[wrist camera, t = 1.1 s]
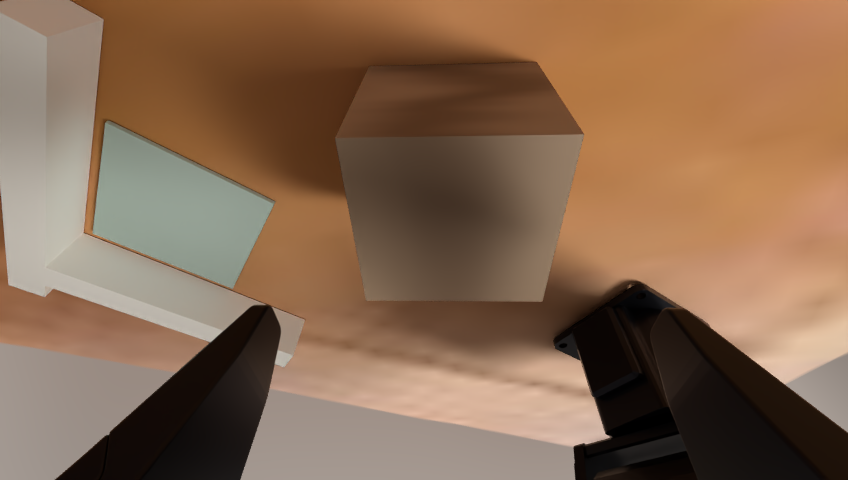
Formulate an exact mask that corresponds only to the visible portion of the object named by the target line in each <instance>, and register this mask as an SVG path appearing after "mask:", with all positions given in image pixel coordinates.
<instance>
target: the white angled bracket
mask: <svg viewBox="0 0 848 480" xmlns="http://www.w3.org/2000/svg"><path fill="white" fill-rule="evenodd" d="M103 21H104V19H102V18H100V17H99V16H97V15H95V14H93V13H92V12H90V11H88V10H86V9H84V8H83V7H81V6H79V5H77V4H76V3H74V2H72V1H70V0H4V1H0V190H1V202H2V213H3V225H4V237H5V249H6V261H7V272H8V284H9V285H10V286H13V287H16V288H19V289H22V290H25V291H28V292H31V293H34V294H37V295H40V296H43V297H45V296H46V295H47V294H48V293H50V292H51V291H52V290H53V289H56V290H59V291H62V292H65V293H68V294H71V295H74V296H77V297H79V298H82V299H85V300H88V301H91V302H94V303H97V304H100V305H103V306H106V307H109V308H112V309H115V310H117V311H120V312H123V313H126V314H129V315H132V316H135V317H138V318H141V319H144V320H147V321H150V322H153V323H156V324H158V325H161V326H164V327H167V328H170V329H173V330H176V331H179V332H182V333H185V334H188V335H191V336H194V337H197V338H199V339H202V340H205V341H208V342H211V341H212V340H214V339H215V338H216V337H217V336H218V335H219V334H220V333H221V332H223V331H224V330H225V329H226V328H227V327H228V326H229V325H230V324H232V323H233V322H234V321H235V320H236V319H237V318H238V317H239V316H240V315H242V314H243V313H244V312H245V311H246V310H247V309H248V308H250V307H251V306H253V305H266V304H264V303H261V302H258V301H256V300H253V299H251V298H248V297H246V296H243V295H241V294H238V293H236V292H233V291H230V290H228V289H225V288H223V287H220V286H218V285H215V284H213V283H210V282H207V281H205V280H202V279H200V278H197V277H195V276H192V275H190V274H187V273H185V272H182V271H179V270H177V269H174V268H172V267H169V266H167V265H164V264H162V263H159V262H156V261H154V260H151V259H149V258H146V257H144V256H141V255H139V254H136V253H134V252H131V251H128V250H126V249H123V248H121V247H118V246H116V245H113V244H111V243H108V242H105V241H103V240H100V239H98V238H95V237H93V236H90V235H88V234H85V233H84V223H85V212H86V202H87V191H88V181H89V170H90V159H91V149H92V138H93V128H94V117H95V106H96V96H97V85H98V74H99V64H100V53H101V43H102V32H103ZM272 308H273V310H274V312H275V314H276V317H277V319H278V321H279V324H280V327H281V337H280V342H279V346H278V351H277V356H276V360H275V364H276V365H279V366H281V367H285V365H286V364H287V363H288V362H289V360H290V359H291V358H292V357H293V355H294V352H295V349H296V346H297V343H298V340H299V337H300V334H301V331H302V328H303V325H304V322H305V320H304V319H302V318H299V317H297V316H294V315H292V314H289V313H287V312H284V311H281V310H279V309H276V308H274V307H272Z"/></svg>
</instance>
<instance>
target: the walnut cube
mask: <svg viewBox="0 0 848 480" xmlns="http://www.w3.org/2000/svg"><path fill="white" fill-rule="evenodd" d="M583 137H584V133H583V132H582V130H581V129H580V127H579V126H578V124H577V123H576V121H575V120H574V118H573V117H572V115H571V114H570V112H569V110H568V109H567V107H566V106H565V104H564V103H563V101H562V100H561V98H560V97H559V95H558V94H557V92H556V91H555V89H554V88H553V86H552V84H551V83H550V81H549V80H548V78H547V77H546V75H545V74H544V72H543V71H542V69H541V68H540V66H539V65H538V63H537V62H520V63H477V64H434V65H391V66H369V68H368V70H367V72H366V74H365V76H364V78H363V80H362V82H361V84H360V86H359V89H358V91H357V93H356V95H355V97H354V99H353V101H352V103H351V105H350V107H349V109H348V112H347V114H346V116H345V118H344V120H343V122H342V124H341V126H340V128H339V130H338V133H337V135H336V137H335V141H336V146H337V152H338V157H339V162H340V167H341V172H342V178H343V183H344V188H345V193H346V198H347V204H348V209H349V214H350V219H351V224H352V230H353V235H354V240H355V245H356V250H357V256H358V261H359V266H360V271H361V277H362V282H363V287H364V292H365V297H366V301H526V302H542V301H543V297H544V293H545V289H546V285H547V281H548V277H549V273H550V269H551V265H552V261H553V257H554V253H555V249H556V245H557V241H558V237H559V233H560V229H561V225H562V221H563V217H564V213H565V209H566V205H567V201H568V197H569V193H570V189H571V185H572V181H573V177H574V173H575V169H576V165H577V161H578V157H579V153H580V149H581V145H582V141H583Z"/></svg>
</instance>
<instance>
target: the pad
mask: <svg viewBox="0 0 848 480" xmlns="http://www.w3.org/2000/svg"><path fill="white" fill-rule="evenodd" d="M274 203H275V201H273V200H271V199H269V198H267V197H265V196H263V195H261V194H259V193H257V192H255V191H253V190H251V189H248V188H246V187H244V186H242V185H240V184H238V183H236V182H234V181H232V180H230V179H228V178H226V177H224V176H222V175H220V174H218V173H216V172H214V171H212V170H209V169H207V168H205V167H203V166H201V165H199V164H197V163H195V162H193V161H191V160H189V159H187V158H185V157H183V156H181V155H179V154H177V153H175V152H173V151H171V150H168V149H166V148H164V147H162V146H160V145H158V144H156V143H154V142H152V141H150V140H148V139H146V138H144V137H142V136H140V135H138V134H136V133H134V132H132V131H129V130H127V129H125V128H123V127H121V126H119V125H117V124H115V123H113V122H111V121H109V120H108V121H107V122H105V130H104V139H103V147H102V156H101V165H100V174H99V182H98V191H97V200H96V208H95V217H94V226H93V234H95V235H98V236H100V237H103V238H105V239H108V240H110V241H113V242H115V243H118V244H120V245H123V246H126V247H128V248H131V249H133V250H136V251H138V252H141V253H143V254H146V255H148V256H151V257H153V258H156V259H159V260H161V261H164V262H166V263H169V264H171V265H174V266H176V267H179V268H181V269H184V270H186V271H189V272H192V273H194V274H197V275H199V276H202V277H204V278H207V279H209V280H212V281H214V282H217V283H219V284H222V285H224V286H227V287H230V288H232V289H233V287H234V285H235V283H236V281H237V279H238V277H239V275H240V273H241V271H242V269H243V267H244V264H245V262H246V260H247V258H248V256H249V254H250V252H251V250H252V248H253V246H254V244H255V242H256V240H257V238H258V236H259V234H260V232H261V230H262V228H263V226H264V224H265V222H266V220H267V218H268V216H269V214H270V212H271V210H272V208H273V206H274Z"/></svg>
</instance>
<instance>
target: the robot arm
mask: <svg viewBox="0 0 848 480" xmlns="http://www.w3.org/2000/svg"><path fill="white" fill-rule="evenodd" d="M280 337H281V327H280V324H279V321H278V319H277V317H276V314H275V312H274V310H273V308H272V307H271V306H270V305H253V306H251V307H250V308H248V309H247V310H246V311H245V312H244V313H243V314H242V315H240V316H239V317H238V318H237V319H236V320H235V321H234V322H233V323H232V324H230V325H229V326H228V327H227V328H226V329H225V330H224V331H223V332H221V333H220V334H219V335H218V336H217V337H216V338H215V339H214V340H212V341H211V342H210V343H209V344H208V345H207V346H206V347H205V348H203V349H202V350H201V351H200V352H199V353H198V354H197V355H196V356H194V357H193V358H192V359H191V360H190V361H189V362H188V363H187V364H185V365H184V366H183V367H182V368H181V369H180V370H179V371H178V372H177V373H175V374H174V375H173V376H172V377H171V378H170V379H169V380H168V381H167V382H165V383H164V384H163V385H162V386H161V387H160V388H159V389H157V391H155V392H154V393H153V394H152V395H151V396H150V397H148V398H147V399H146V400H145V401H144V402H143V403H142V404H141V405H139V406H138V407H137V408H136V409H135V410H134V411H133V412H132V413H131V414H130V415H128V416H127V417H126V418H125V419H124V420H123V421H122V422H120V424H118V425H117V426H116V427H115V428H114V429H113V430H112V431H111V432H110V434H109V435H106V436H105V437H103V438H102V439H101V440H100V441H99V442H98V443H97V444H96V445H94V446H93V447H92V448H91V449H90V450H89V451H88V452H87V453H85V454H84V455H83V456H82V457H81V458H80V459H79V460H77V461H76V462H75V463H74V464H73V465H72V466H71V467H69V468H68V469H67V470H66V471H65V472H63V473H62V474H61V475H60V476H59V477H58V478H56V479H55V480H240V479H241V476H242V473H243V470H244V467H245V463H246V461H247V458H248V455H249V452H250V449H251V446H252V443H253V440H254V437H255V433H256V431H257V427H258V425H259V422H260V419H261V415H262V412H263V409H264V406H265V403H266V399H267V396H268V392H269V388H270V384H271V379H272V374H273V370H274V365H275V360H276V356H277V351H278V346H279V342H280ZM553 342H554V346H555V348H556V349H557V350H559V351H561V352H563V353H565V354H568V355H570V356H572V357H574V358H576V359H578V360H580V361H581V363H582V367H583V370H584V373H585V376H586V379H587V383H588V386H589V389H590V392H591V395H592V396H593V397H594V399H595V402H596V406H597V409H598V412H599V415H600V418H601V421H602V424H603V428H604V431H605V434H607V435H609V436H610V438H608V439H605V440H601V441H597V442H594V443H590V444H587V445H586V444H584V443H583V444H579V445H576V446H574V459H575V464H574V468H575V479H576V480H848V432H846V431H845V430H844V429H842V428H841V427H840V426H838V425H837V424H836V423H834V422H833V421H832V420H831V419H829V418H828V417H827V416H825V415H824V414H822V413H821V412H820V411H819V410H817V409H816V408H815V407H814V406H812V405H811V404H810V403H808V402H807V401H806V400H804V399H803V398H802V397H800V396H799V395H798V394H796V393H795V392H794V391H793V390H791V389H790V388H788V387H787V386H786V385H785V384H783V383H782V382H781V381H779V380H778V379H777V378H776V377H774V376H773V375H772V374H770V373H769V372H768V371H766V370H765V369H764V368H762V367H761V366H760V365H759V364H757V363H756V362H755V361H753V360H752V359H751V358H749V357H748V356H747V355H745V354H744V353H743V352H742V351H740V350H739V349H738V348H736V347H735V346H734V345H732V344H731V343H730V342H728V341H727V340H726V339H725V338H723V337H722V336H721V335H719V334H718V333H717V332H715V331H714V330H713V329H711V327H710V326H709V324H708V323H706V322H705V321H703V320H701V319H700V318H698V317H697V316H695V315H693V314H692V313H691V312H689V311H688V310H686V309H684V308H682V307H680V306H679V305H677V304H676V303H674V302H672V301H671V300H669V299H667V298H666V297H664V296H663V295H661V294H659V293H658V292H656V291H655V290H653V289H651V288H650V287H648V286H646V285H644V284H638V285H635V286H633V287H631V288H629V289H628V290H626V291H625V292H623V293H622V294H620V295H619V296H617V297H616V298H614V299H613V300H611V301H610V302H608V303H607V304H605V305H604V306H602V307H601V308H599V309H598V310H596V311H595V312H593V313H592V314H590V315H589V316H587V317H586V318H584V319H583V320H581V321H580V322H578V323H576V324H575V325H573V326H572V327H570V328H569V329H567V330H566V331H564V332H563V333H561V334H560V335H558V336H557V337H555V338H554V340H553Z"/></svg>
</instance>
